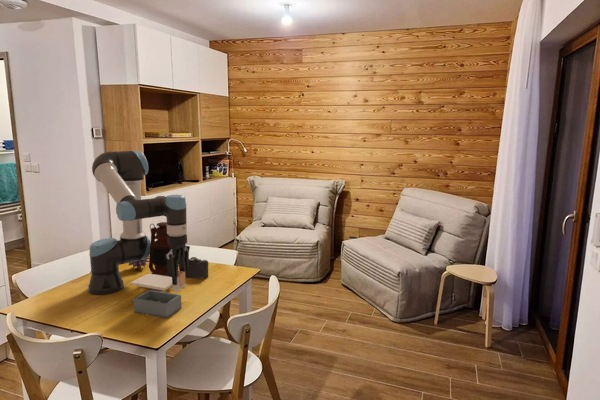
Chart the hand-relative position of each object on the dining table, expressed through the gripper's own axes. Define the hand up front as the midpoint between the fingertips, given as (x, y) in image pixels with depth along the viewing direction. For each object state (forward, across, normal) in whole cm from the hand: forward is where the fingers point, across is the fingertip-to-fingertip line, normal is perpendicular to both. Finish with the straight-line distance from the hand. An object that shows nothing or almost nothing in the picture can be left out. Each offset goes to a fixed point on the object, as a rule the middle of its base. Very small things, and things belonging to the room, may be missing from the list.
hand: (179, 289), depth 165 cm
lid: (0, 0, +9) cm, 9 cm away
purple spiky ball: (+12, +39, +54) cm, 67 cm away
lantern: (+11, +25, +28) cm, 39 cm away
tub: (+11, 0, +11) cm, 15 cm away
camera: (+11, +42, +19) cm, 47 cm away
